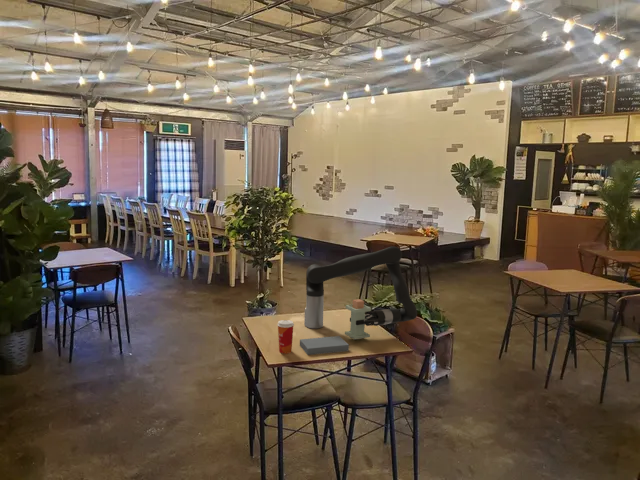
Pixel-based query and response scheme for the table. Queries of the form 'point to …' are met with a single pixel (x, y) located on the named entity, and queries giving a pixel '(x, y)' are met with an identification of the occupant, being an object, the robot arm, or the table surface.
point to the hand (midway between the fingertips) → (353, 321)
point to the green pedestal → (355, 330)
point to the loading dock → (324, 345)
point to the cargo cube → (358, 304)
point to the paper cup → (285, 336)
